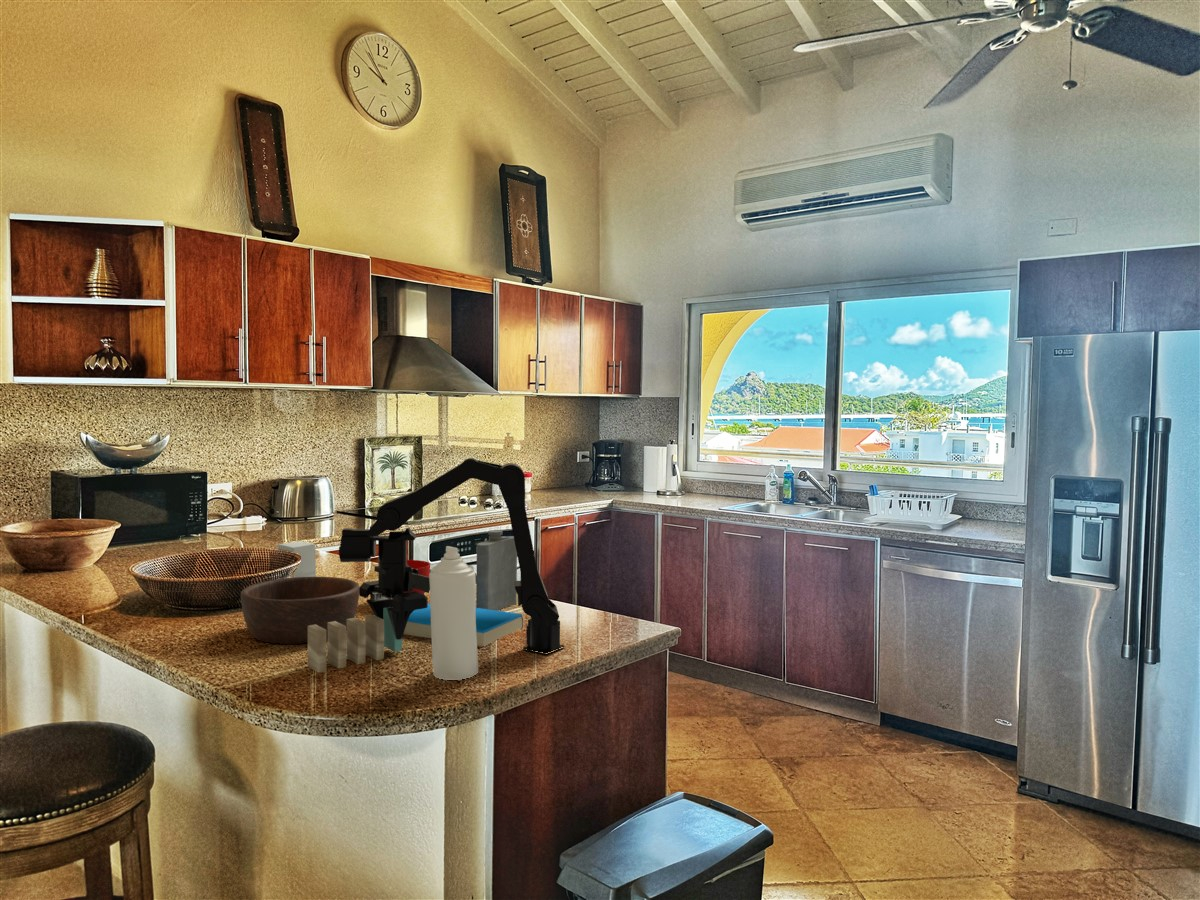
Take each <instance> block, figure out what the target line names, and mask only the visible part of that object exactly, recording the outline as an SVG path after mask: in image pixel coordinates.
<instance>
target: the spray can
mask: <svg viewBox="0 0 1200 900" xmlns="http://www.w3.org/2000/svg"><path fill="white" fill-rule="evenodd" d="M458 550H459V549H458V547H455V546H449V545H447V546H445V553H444V554H443V557H441V558H440V561H439V562H438V563H437V564H436V565H434V566H432V567H430V573H429V581H430V591H429V599H430V600H429V601H430V602H429V604H430V608H431V638H430V639H431V652H432V653H431V660H432V661H431V662H432V669H433V670H432V671H433V673H432V674H433V677H435V678H436V679H438V678H439V680H441V679H443V680H442V681H447V680H458V681H463V680H462V679H465V680H467V679H466V678H469V679H471V678H470V677H472V676H474V675H476V674H477V673H479V658H478V657H479V654H478V646H477V636H476V576H477V575H476V572H475V567H474V566H472V565H469V564H467V563H466V562H464V558H463V557H461V556H460V555H461V554H460V553H459V552H458ZM477 675H478V674H477ZM477 675H476V676H477ZM474 677H475V676H474ZM472 678H473V677H472Z"/></svg>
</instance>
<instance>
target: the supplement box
mask: <svg viewBox="0 0 1200 900" xmlns="http://www.w3.org/2000/svg"><path fill="white" fill-rule="evenodd" d="M278 550H279V551H288V552H293V553H298V554H299V555H300V556H301V562H300V564H299V566H298V568H297V569H296V571H295V573H294V574H293V576H292V578H295V577H317V575H316V574H317V573H316V571H317V570H316V569H317V565H316V564H317V563H316V561H317V559H316V557H317V555H316V553H317V552H316V544H315V543H312V542H307V541H302V540H299V541H294V542H293V541H292V542H286V543H279V544H277V551H278Z"/></svg>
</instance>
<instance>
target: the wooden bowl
mask: <svg viewBox="0 0 1200 900" xmlns="http://www.w3.org/2000/svg"><path fill="white" fill-rule="evenodd" d="M359 587H360V584H359V583H358V582H356V581H354V580H352V579H348V578H344V577H343V578H342V577H335V576H316V577H295V578H284V579H278V578H277V579H271V580H265V581H261V582H258V583H253V584H251V585H249V586H247V587H245V588H243V590H241V592H240V603H241V610H242V614H243V619H244V622H245V625H246V627H247V629H248V631H249V632H250V633H251V635H252V636H253V637H254V639H257V640H258V641H260V640H261V641H260V642H263V641H265V642H264V643H267V642H270V643H269V644H275V643H280V644H279V645H296V644H297V645H299V644H300V645H301V644H308V626H310V625H315V624H316V625H318V626H320V627H322V628H324V629H326V641H328V623H327V622H333V621H336V622H338V623H340V624H342V625H345V626H346V632H347V619H351V618H355V617H356V614H357V610H358V606H359V600H360V599H359V598H360V596H359Z"/></svg>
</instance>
